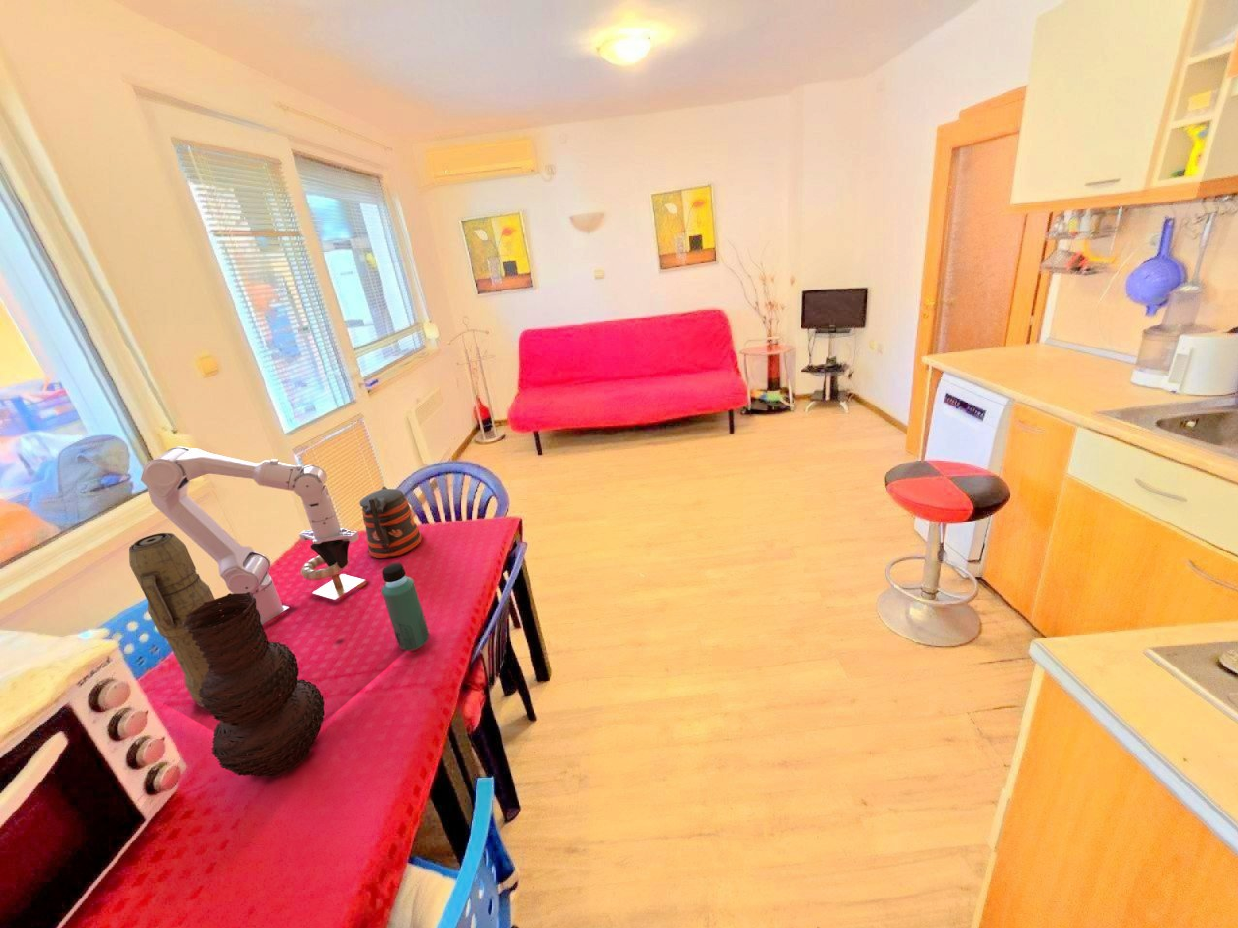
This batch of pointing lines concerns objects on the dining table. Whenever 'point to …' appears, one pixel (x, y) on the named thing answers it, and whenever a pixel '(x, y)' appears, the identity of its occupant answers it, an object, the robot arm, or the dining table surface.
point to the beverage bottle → (404, 608)
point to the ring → (320, 574)
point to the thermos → (172, 599)
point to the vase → (253, 690)
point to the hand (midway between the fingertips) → (338, 565)
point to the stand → (339, 586)
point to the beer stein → (389, 523)
